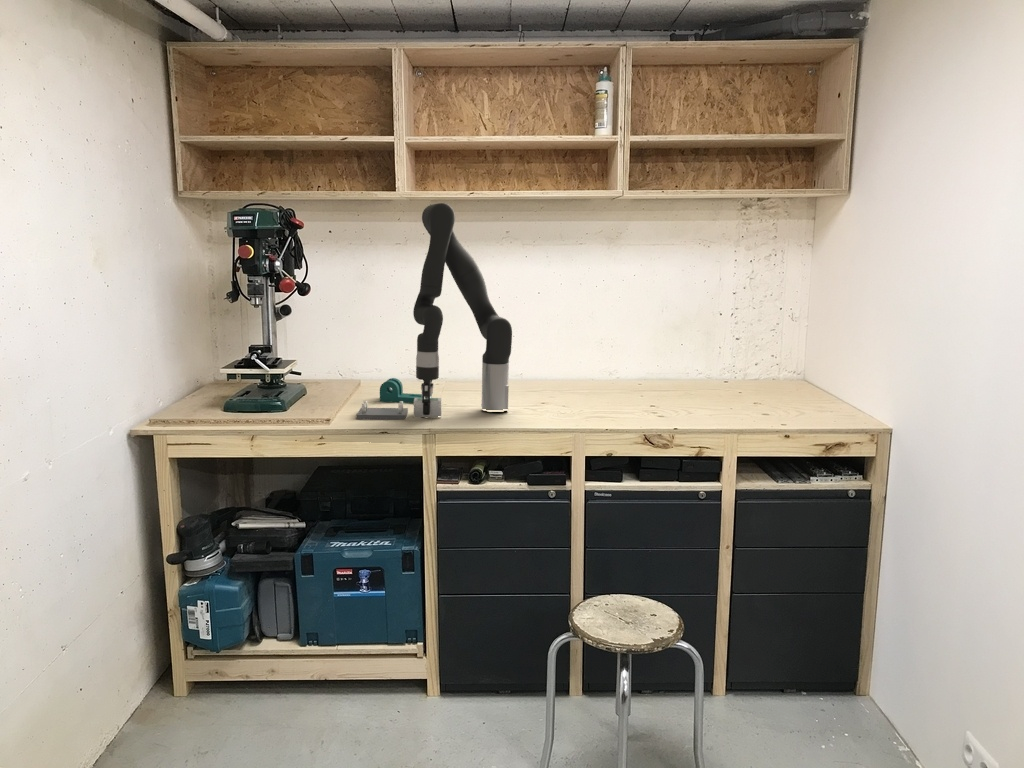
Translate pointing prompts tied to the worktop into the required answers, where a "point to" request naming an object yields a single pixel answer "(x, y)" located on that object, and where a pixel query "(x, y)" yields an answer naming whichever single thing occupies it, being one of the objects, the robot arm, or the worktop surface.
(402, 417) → the grey wall plate
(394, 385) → the bracket
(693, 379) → the worktop surface
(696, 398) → the worktop surface
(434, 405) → the block
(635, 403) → the worktop surface
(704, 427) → the worktop surface
